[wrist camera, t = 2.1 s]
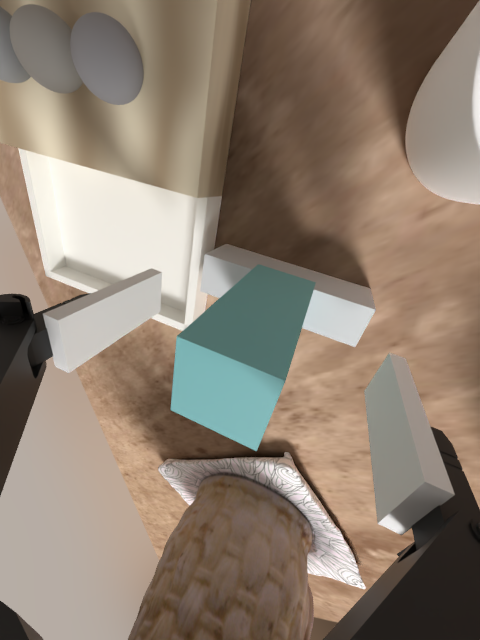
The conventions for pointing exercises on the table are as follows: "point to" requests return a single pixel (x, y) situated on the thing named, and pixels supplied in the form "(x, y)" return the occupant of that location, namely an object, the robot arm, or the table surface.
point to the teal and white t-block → (256, 337)
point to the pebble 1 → (9, 53)
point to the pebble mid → (44, 48)
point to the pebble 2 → (106, 58)
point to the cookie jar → (242, 554)
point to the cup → (449, 119)
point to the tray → (120, 232)
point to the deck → (144, 97)
